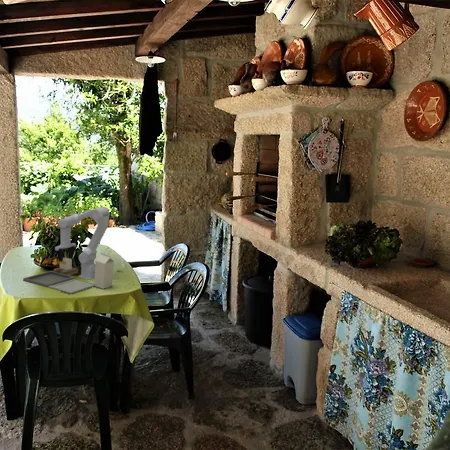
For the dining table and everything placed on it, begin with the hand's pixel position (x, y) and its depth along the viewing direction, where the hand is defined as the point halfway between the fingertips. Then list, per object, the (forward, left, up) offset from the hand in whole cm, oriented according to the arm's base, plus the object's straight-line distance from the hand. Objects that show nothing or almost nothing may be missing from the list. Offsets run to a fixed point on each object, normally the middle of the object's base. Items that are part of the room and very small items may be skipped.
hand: (65, 260), depth 305 cm
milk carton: (-35, +5, -9) cm, 36 cm away
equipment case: (-13, +16, -9) cm, 22 cm away
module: (0, 0, -5) cm, 5 cm away
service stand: (0, 0, -9) cm, 9 cm away
